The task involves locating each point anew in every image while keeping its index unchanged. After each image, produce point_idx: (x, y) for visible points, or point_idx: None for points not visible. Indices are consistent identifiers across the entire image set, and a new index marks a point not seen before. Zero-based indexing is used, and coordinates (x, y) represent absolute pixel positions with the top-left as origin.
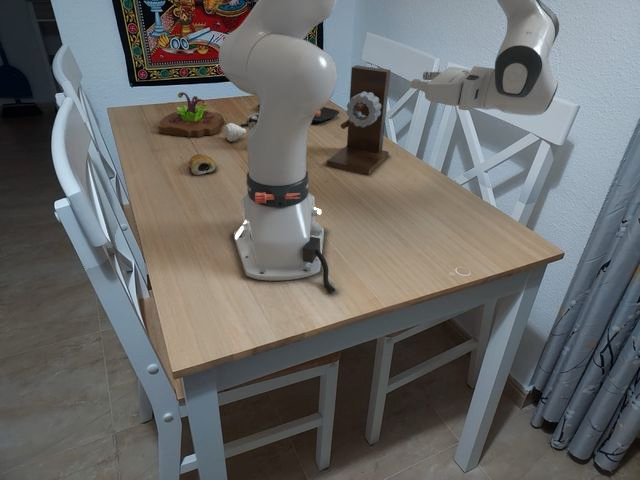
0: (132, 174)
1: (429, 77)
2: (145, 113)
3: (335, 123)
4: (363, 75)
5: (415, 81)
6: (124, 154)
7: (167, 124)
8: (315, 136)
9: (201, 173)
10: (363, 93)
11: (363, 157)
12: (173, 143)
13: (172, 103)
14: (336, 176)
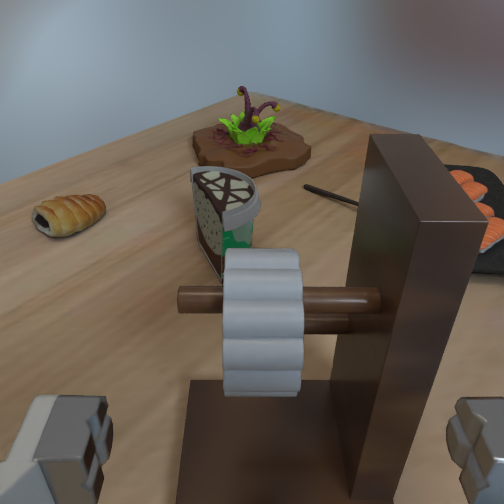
0: (20, 179)
1: (480, 486)
2: None
3: (497, 295)
4: (378, 186)
5: (26, 429)
6: (93, 149)
7: (201, 132)
8: None
9: (40, 230)
10: (265, 258)
11: (277, 464)
12: (163, 164)
13: (321, 110)
14: (123, 445)
